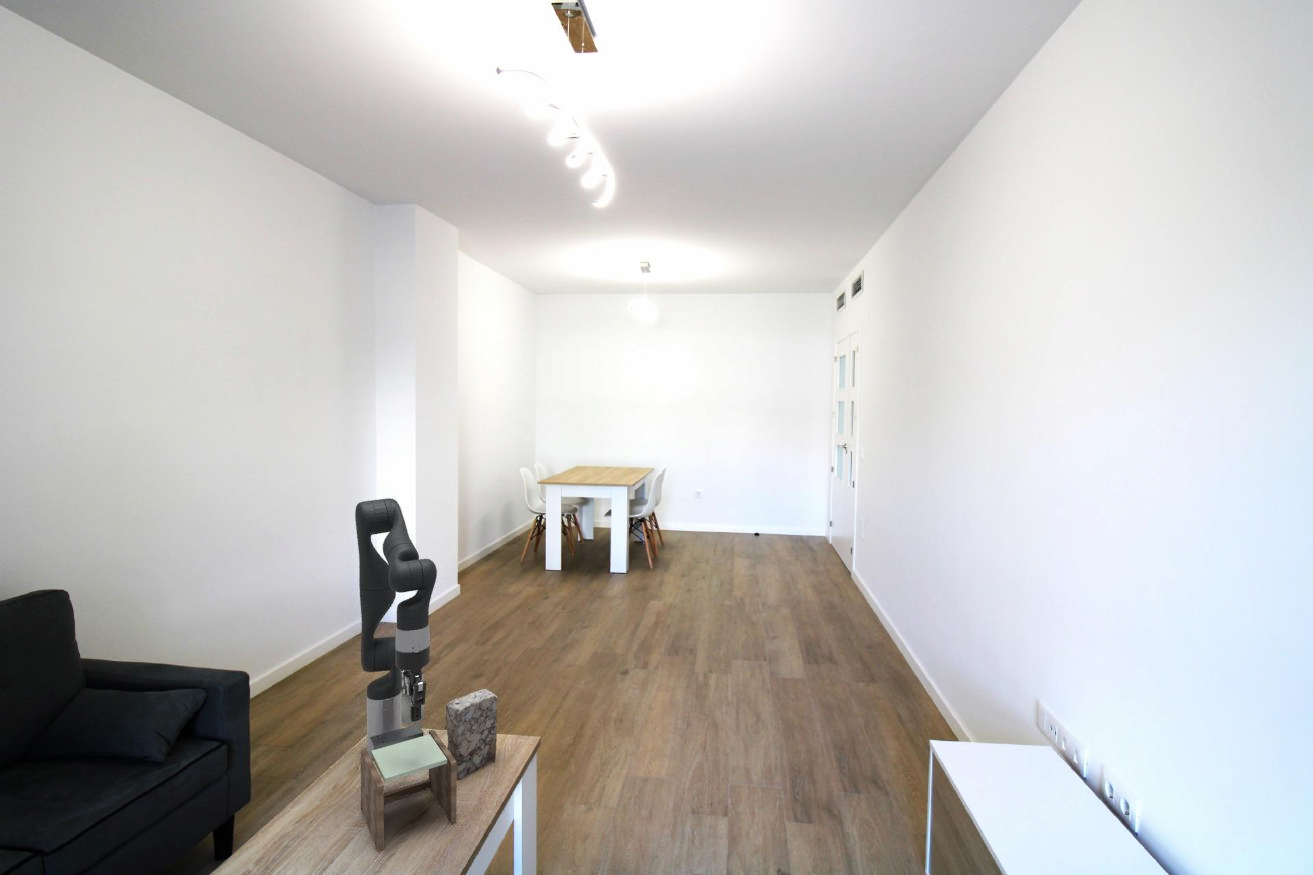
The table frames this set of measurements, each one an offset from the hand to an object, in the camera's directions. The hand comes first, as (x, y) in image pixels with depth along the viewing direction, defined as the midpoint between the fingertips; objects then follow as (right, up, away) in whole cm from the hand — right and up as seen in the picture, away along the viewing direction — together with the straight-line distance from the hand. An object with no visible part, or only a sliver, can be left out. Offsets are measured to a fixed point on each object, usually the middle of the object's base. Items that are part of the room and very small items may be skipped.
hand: (412, 714), depth 148 cm
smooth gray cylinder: (0, -1, 0) cm, 1 cm away
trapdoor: (-5, -14, +7) cm, 16 cm away
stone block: (+6, -26, +26) cm, 37 cm away
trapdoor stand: (-3, -27, +4) cm, 27 cm away
